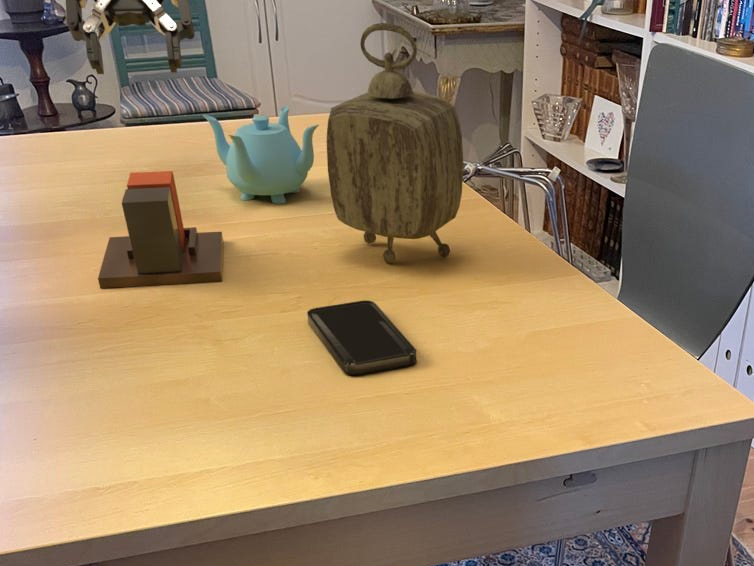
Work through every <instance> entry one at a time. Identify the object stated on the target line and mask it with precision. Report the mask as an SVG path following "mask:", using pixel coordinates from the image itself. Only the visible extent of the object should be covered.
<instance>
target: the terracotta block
mask: <svg viewBox="0 0 754 566" xmlns="http://www.w3.org/2000/svg"><path fill="white" fill-rule="evenodd" d="M165 187H169V188H170V191H171V196H172V201H173V206H174V212H175V217H176V222H177V227H178V232H179V237H180V242H181V247H182V252H184V247H185V233H184V228H185V227H184V223H183V218H182V212H181V207H180V202H179V197H178V191H177V186H176V181H175V176H174V171H173V170H164V171H162V170H161V171H140V172H129V176H128V179H127V183H126V189H142V188H165Z"/></svg>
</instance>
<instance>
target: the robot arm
mask: <svg viewBox="0 0 754 566" xmlns="http://www.w3.org/2000/svg"><path fill="white" fill-rule="evenodd" d="M88 1H89V0H65V17H66V21H65V22H66V25H67V27H68V30H69V33H70V35H71V38H72V39H73V41H74V42H80V41H84V42H85V49H86V58H87V60H88V63H89V66H90V67H91V69H92V70H95V71H96V74H97V75H105V70H104V61H103V60H104V59H103V52H102V45H101V43H100V42H101V41H102V40H103V38H104V37H105V35H108V34H110V33H111V31H112V30H113V28H114V27H115V26H116V24H118V26H119V27H128V26H131V25H134V26H139V27H143V26H145V27H146V26H147V24H148V23H150V25H152V26H153V27H154V29H156V30H157V31H158V32H159V33H160V34H162V35H163V36H164V37H165V43H166V44H165V45H166V55H167V61H168V62H167V63H168V66H169V69H170V73H171V74H173V73H174V74H175V73H178V68H181V67H182V64H183V61H182V53H181V52H182V51H181V41H182V40H185V39H187V40H193V39H194V38H195V31H194V30H195V29H194V23H193V18H192V12H191V7H190V2H189V0H170V2H171V4H172V5H173V6H174V7H176V8H178V12H179V17H180V20H177V21H174V20H173V19H172V18H171V16H170V15H168V14H167V12H166V10H165V9H164V7H163V6H162V5H163V3H164V2H165V0H93V1H94V4H93V6H92V8H91V13H90V15H89V16H88V18H86V20H85V22H83V9H85V8H86V6H87V4H88Z"/></svg>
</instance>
